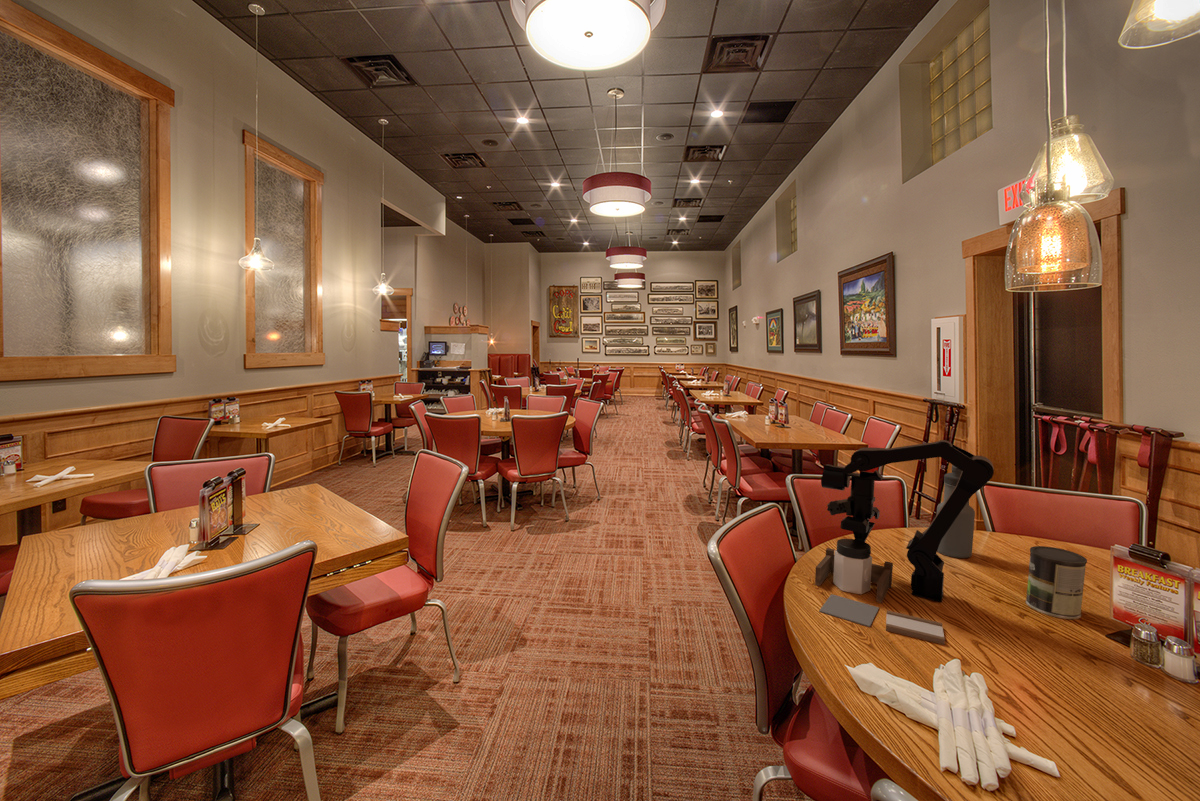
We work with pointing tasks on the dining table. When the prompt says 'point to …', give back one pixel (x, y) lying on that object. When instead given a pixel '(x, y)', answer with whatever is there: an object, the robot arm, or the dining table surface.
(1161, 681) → the dining table surface
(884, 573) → the brown u-shaped frame
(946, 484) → the water bottle
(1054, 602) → the coffee can
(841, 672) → the dining table surface
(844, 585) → the jar
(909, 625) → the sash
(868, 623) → the bench mat
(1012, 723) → the dining table surface
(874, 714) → the dining table surface
